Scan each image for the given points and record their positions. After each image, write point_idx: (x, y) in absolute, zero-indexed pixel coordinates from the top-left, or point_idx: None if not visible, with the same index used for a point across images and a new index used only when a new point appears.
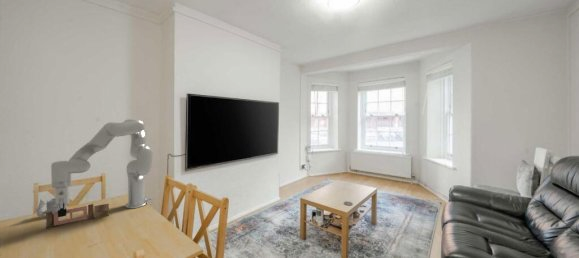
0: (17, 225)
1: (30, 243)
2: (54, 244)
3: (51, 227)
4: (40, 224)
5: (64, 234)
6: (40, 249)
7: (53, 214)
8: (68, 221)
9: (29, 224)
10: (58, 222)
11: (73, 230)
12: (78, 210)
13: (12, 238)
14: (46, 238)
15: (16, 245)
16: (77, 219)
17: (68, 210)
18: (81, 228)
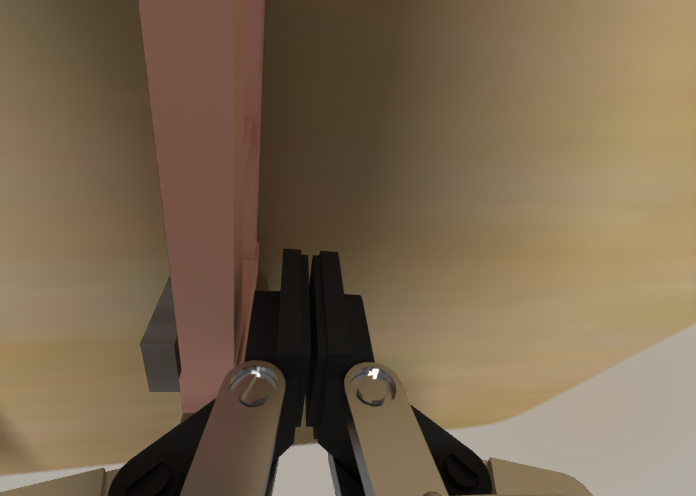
0: (20, 438)
1: (493, 361)
2: (681, 261)
3: (262, 277)
4: (90, 339)
5: (555, 197)
6: (659, 319)
7: (173, 374)
8: (258, 157)
9: (38, 392)
10: (254, 255)
11: (535, 119)
12: (244, 54)
13: (302, 427)
14: (500, 299)
15: (449, 404)
16: (262, 45)
17: (234, 257)
18: (565, 32)
